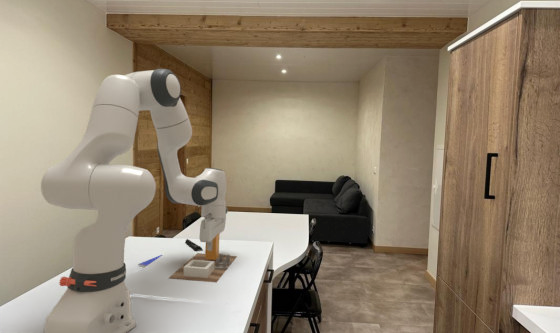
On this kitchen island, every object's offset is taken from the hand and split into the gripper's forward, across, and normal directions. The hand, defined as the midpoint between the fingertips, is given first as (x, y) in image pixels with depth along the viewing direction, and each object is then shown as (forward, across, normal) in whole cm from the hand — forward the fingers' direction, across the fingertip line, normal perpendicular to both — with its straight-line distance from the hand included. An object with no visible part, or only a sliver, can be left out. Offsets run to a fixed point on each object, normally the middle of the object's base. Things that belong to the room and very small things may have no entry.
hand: (212, 248), depth 137 cm
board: (+6, -7, 0) cm, 9 cm away
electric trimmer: (+6, +16, +13) cm, 21 cm away
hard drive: (+7, -4, +19) cm, 20 cm away
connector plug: (+4, 0, 0) cm, 4 cm away
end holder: (+5, -14, 0) cm, 14 cm away
